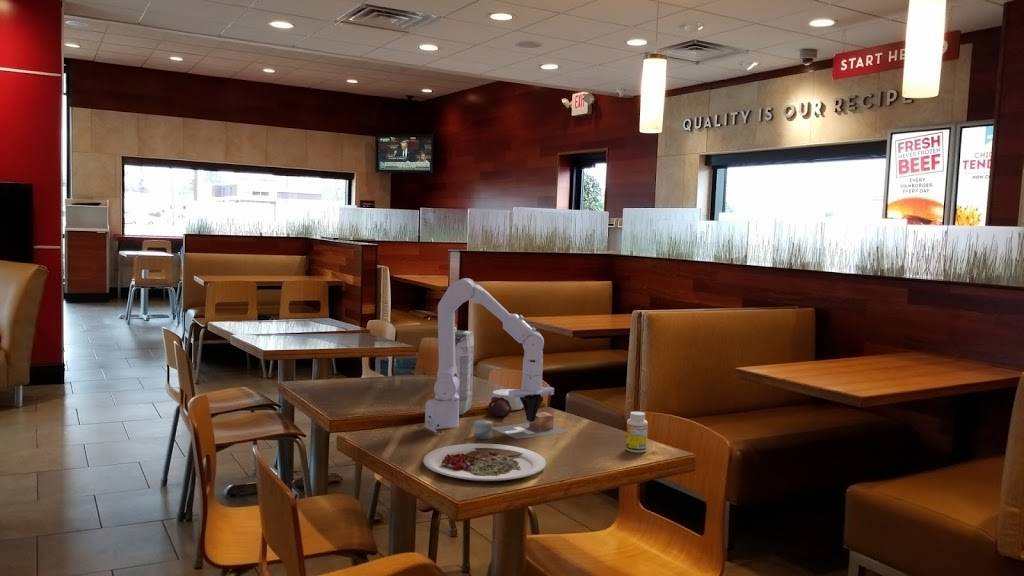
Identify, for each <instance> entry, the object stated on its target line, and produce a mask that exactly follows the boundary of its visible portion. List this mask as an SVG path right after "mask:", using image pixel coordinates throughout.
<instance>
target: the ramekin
mask: <svg viewBox="0 0 1024 576" xmlns="http://www.w3.org/2000/svg"><path fill="white" fill-rule="evenodd" d="M511 390H516V389H515V388H514V389H513V388H511V389H510V388H506V389H505V388H504V389H502V388H501V389H496V390H493V391H492V397H494V396H495V397H498V398H500V397H503V398H504V399H506V400H508V401H509V404H510V406H511V408H512V409H511V411H519V410H522V409H524V406H523V404H522V402H521V400H520V397H517V398H513V399H512V398H509V391H511Z"/></svg>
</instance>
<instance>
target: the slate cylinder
mask: <svg viewBox="0 0 1024 576" xmlns="http://www.w3.org/2000/svg"><path fill="white" fill-rule="evenodd" d="M493 425H494V423H493V421H490V420H476V421H474V428H473V429H474V430H473V431H474V432H473V437H474V438H475V439H480V440H489V439H492V438H493V430H494V429H493V427H494V426H493Z"/></svg>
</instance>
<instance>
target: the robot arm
mask: <svg viewBox="0 0 1024 576" xmlns="http://www.w3.org/2000/svg"><path fill="white" fill-rule="evenodd" d="M469 300H471V301H470V302H471V303H473V304H479V305H482V306H483V307H484V308H486V309H487V310H488V311H489V312H490V313H491V314H492V315H494V317H496V318H497V319H499V320H500V321H501V322H502V329H503V330H504V331H505V332H507V334H508V335H510V336H511V337H512V338H513V339H514V340H515V341H517V343H518V344H522V348H523V351H524V352H523V356H524V357H523V358H522V379H521V380H522V381H521V388H517V389H516V390H511V391H509V398H512V399H513V398H517V397H520V400H521V402H522V404H523V406H524V407H523V409H524V412H525V418H526V421H528V422H529V423H530V422H533V421H534V420H535V417H536V414H537V413H538V411H539V409H540V406H541V405H542V403H543V401H544V397H543V396H546V395H551V396H553V395H555V387H552V386H543V372H544V371H543V367H544V365H543V364H544V358H543V357H544V352H543V350H544V346H545V340H544V339H545V338H544V337H543V336H542V334H541V332H539V331H537V328H535V327H532V326H531V325H529V323H527V322H526V321H525V320H524V319H525V317H524V316H523V315H522V314H520V315H519V314H517V313H509V311H508V310H507V309H506V308H505V307H504V306H502V304H501V303H500V302H498V301H497V299H495V298H494V297H493V296H492V295H491V293H489V292H488V290H486V289H485V288H483V287H482V286H481V285H480V284H478V283H476V282H475V281H474V280H473V279H471V278H470V277H469V278H468V277H465V278H461V279H458V280H456V281H454V283H452V284H451V285H449V286H448V287H447V290H446V291H445V293H444V295H443V296H442V298H441V299H440V301H439V302H438V304H437V326H438V327H437V328H438V329H437V333H438V335H437V336H438V338H437V339H438V343H437V344H438V369H437V375H436V376H437V377H436V382H435V383H434V387H433V390H434V394H435V395H434V398H433V399H429V400H427V401H426V403H425V408H424V409H425V410H424V412H425V413H424V425H423V428H425V429H427V430H430V431H431V432H433V433H436V434H439V433H441V431H440V429H453V428H458V427H459V426H460V424H459V423H460V420H459V419H460V415H459V398H460V397H459V395H458V394H457V391H458V389H459V388H460V379H459V377H458V375H457V368H456V360H455V327H456V315H455V314H456V313H455V312H456V310H458V309H459V307H460V306H462V305H463V304H464V303H465V302H468V301H469Z"/></svg>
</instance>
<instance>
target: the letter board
mask: <svg viewBox="0 0 1024 576" xmlns="http://www.w3.org/2000/svg"><path fill="white" fill-rule="evenodd" d="M529 426H530V422H524V423H517V424H507V425H499V426H493V429H492V430H494V431H497V432H499V433H502V434H503V435H507V436H508V437H510V438H513V439H516V440H519V439H528V438H532V437H534V438H535V437H541V436H547V435H549V436H550V435H556V434H562V433H569V431H568V430H565V429H563V428H560V427H556V426H555V425H553V429H550V430H542V431H538V430H536V429H533V428H531V427H529Z"/></svg>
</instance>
